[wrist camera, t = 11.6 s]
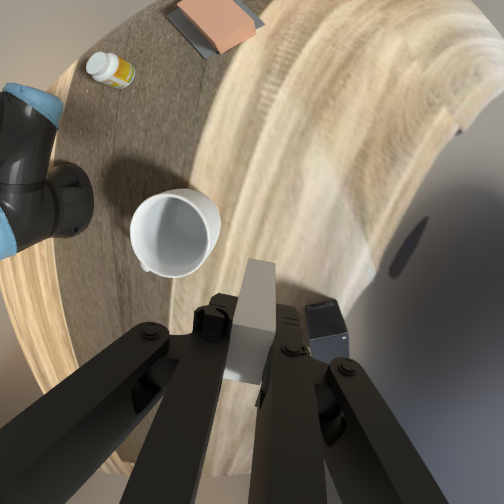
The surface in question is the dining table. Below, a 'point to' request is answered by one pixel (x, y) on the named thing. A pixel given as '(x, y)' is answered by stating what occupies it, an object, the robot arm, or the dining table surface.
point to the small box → (327, 332)
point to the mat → (196, 36)
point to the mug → (174, 232)
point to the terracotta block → (219, 21)
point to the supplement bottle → (110, 70)
